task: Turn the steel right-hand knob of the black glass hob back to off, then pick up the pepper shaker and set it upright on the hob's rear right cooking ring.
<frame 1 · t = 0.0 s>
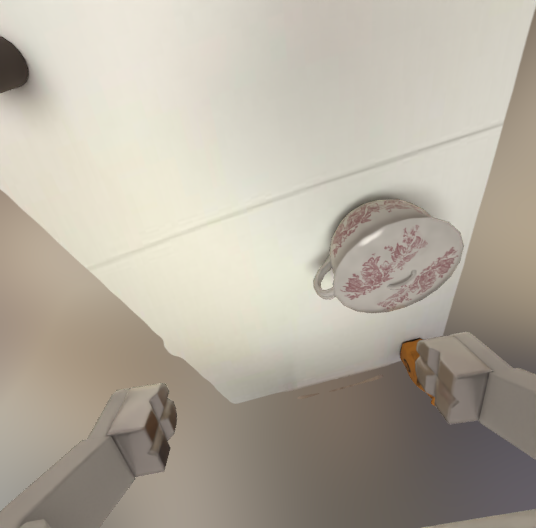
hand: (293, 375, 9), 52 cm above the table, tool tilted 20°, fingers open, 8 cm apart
chamber pot: (366, 228, 71), on the table
bottle: (3, 60, 42), on the table
coffee package: (409, 346, 115), on the table
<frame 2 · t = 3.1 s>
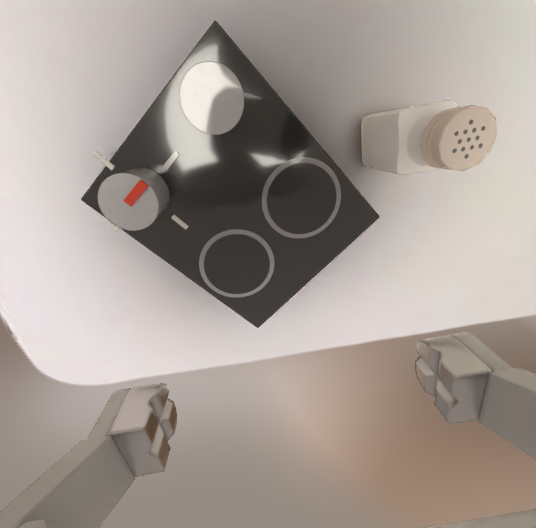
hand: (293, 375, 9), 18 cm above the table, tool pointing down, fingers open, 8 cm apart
hob zones: (241, 209, 22), resting on hob
hob: (240, 202, 24), on the table
pepper shaker: (380, 138, 23), on the table
hob knob: (136, 198, 19), point 4 cm above the table, hinge at 90.0°
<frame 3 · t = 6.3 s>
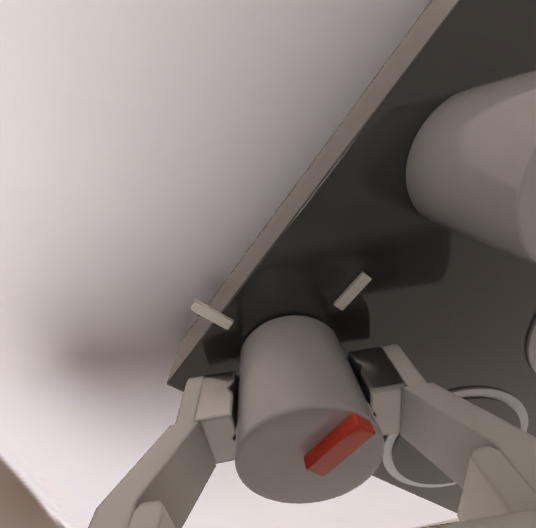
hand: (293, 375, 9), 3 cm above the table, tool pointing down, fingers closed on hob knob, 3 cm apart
hob zones: (482, 354, 10), resting on hob
hob: (439, 316, 13), on the table
hob knob: (299, 403, 8), point 4 cm above the table, hinge at 89.8°, touching gripper
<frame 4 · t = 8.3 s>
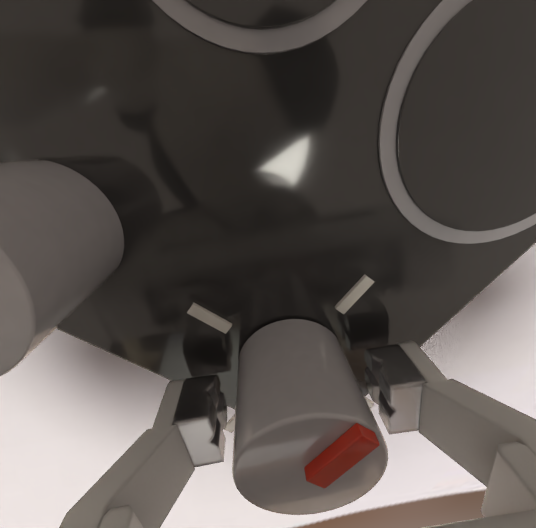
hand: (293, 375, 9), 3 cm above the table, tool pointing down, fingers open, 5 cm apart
hob zones: (313, 128, 7), resting on hob
hob: (296, 132, 9), on the table
hob knob: (299, 410, 8), point 4 cm above the table, hinge at -0.8°
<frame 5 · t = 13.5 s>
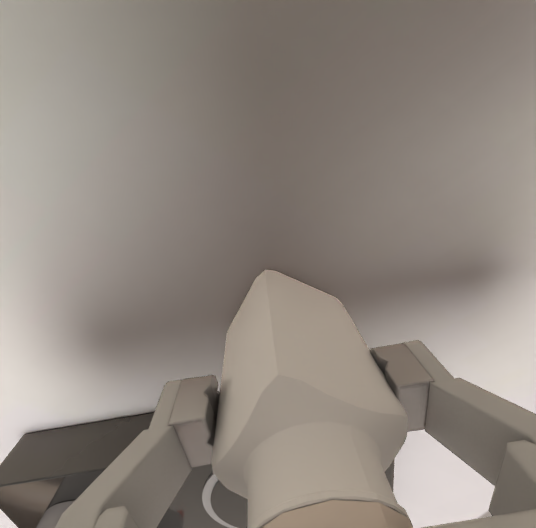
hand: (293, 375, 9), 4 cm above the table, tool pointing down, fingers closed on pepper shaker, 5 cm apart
hob: (228, 490, 17), on the table
pepper shaker: (281, 312, 12), on the table, touching gripper
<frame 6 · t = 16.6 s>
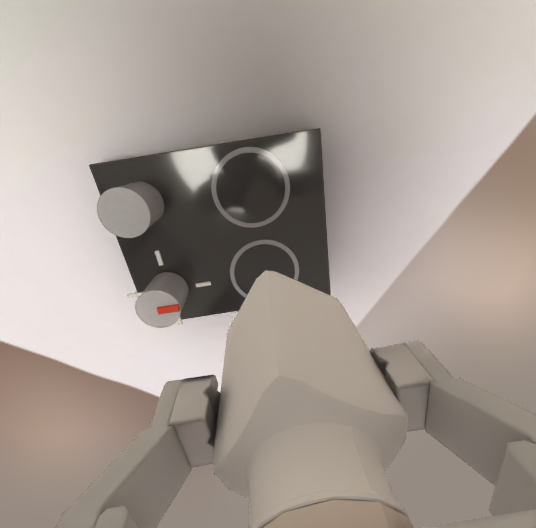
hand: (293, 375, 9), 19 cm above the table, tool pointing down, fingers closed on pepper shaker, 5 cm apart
hob zones: (224, 238, 24), resting on hob
hob: (226, 230, 26), on the table
pepper shaker: (282, 313, 13), point 15 cm above the table, touching gripper
hob knob: (163, 299, 24), point 4 cm above the table, hinge at -0.8°
when the fingers open (6 cm above the table, at t = 20.2 s): pepper shaker stays where it is, resting on hob zones.
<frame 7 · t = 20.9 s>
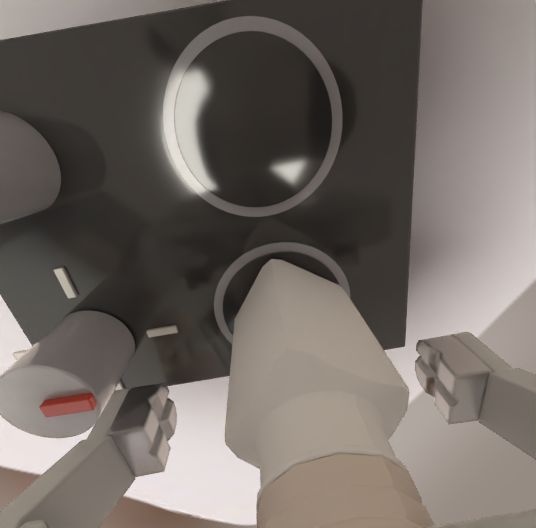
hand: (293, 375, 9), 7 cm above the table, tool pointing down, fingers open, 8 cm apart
hob zones: (199, 241, 12), resting on hob
hob: (207, 225, 14), on the table
pepper shaker: (287, 301, 13), point 3 cm above the table, touching hob zones
hob knob: (72, 372, 11), point 4 cm above the table, hinge at -0.8°
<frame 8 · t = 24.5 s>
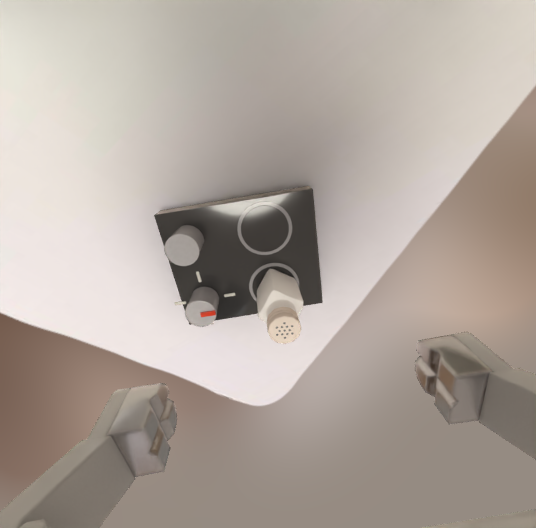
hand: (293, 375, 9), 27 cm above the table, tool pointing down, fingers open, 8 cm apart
hob zones: (245, 262, 34), resting on hob
hob: (245, 255, 36), on the table
pepper shaker: (275, 283, 35), point 3 cm above the table, touching hob zones
hob knob: (202, 306, 34), point 4 cm above the table, hinge at -0.8°
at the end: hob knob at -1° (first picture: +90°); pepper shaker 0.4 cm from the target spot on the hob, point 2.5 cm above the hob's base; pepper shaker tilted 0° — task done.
